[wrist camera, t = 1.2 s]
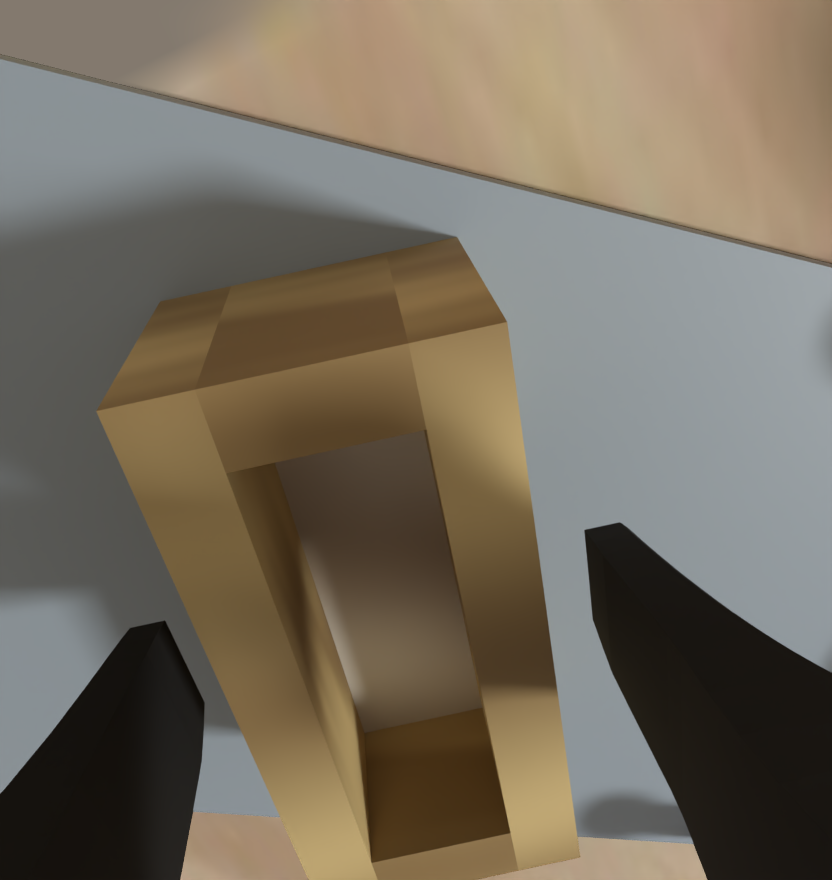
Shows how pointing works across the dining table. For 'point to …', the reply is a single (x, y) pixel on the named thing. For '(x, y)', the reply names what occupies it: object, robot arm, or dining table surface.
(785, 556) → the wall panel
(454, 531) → the frame
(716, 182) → the dining table surface
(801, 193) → the dining table surface
